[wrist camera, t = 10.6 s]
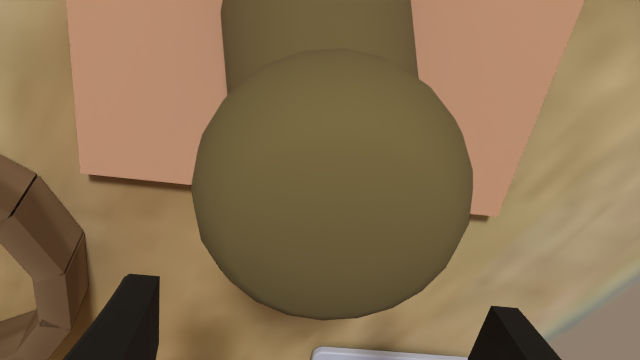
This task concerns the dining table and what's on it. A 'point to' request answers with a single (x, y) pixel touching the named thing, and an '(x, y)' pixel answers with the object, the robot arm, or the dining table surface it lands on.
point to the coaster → (210, 85)
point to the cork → (329, 160)
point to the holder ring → (40, 263)
